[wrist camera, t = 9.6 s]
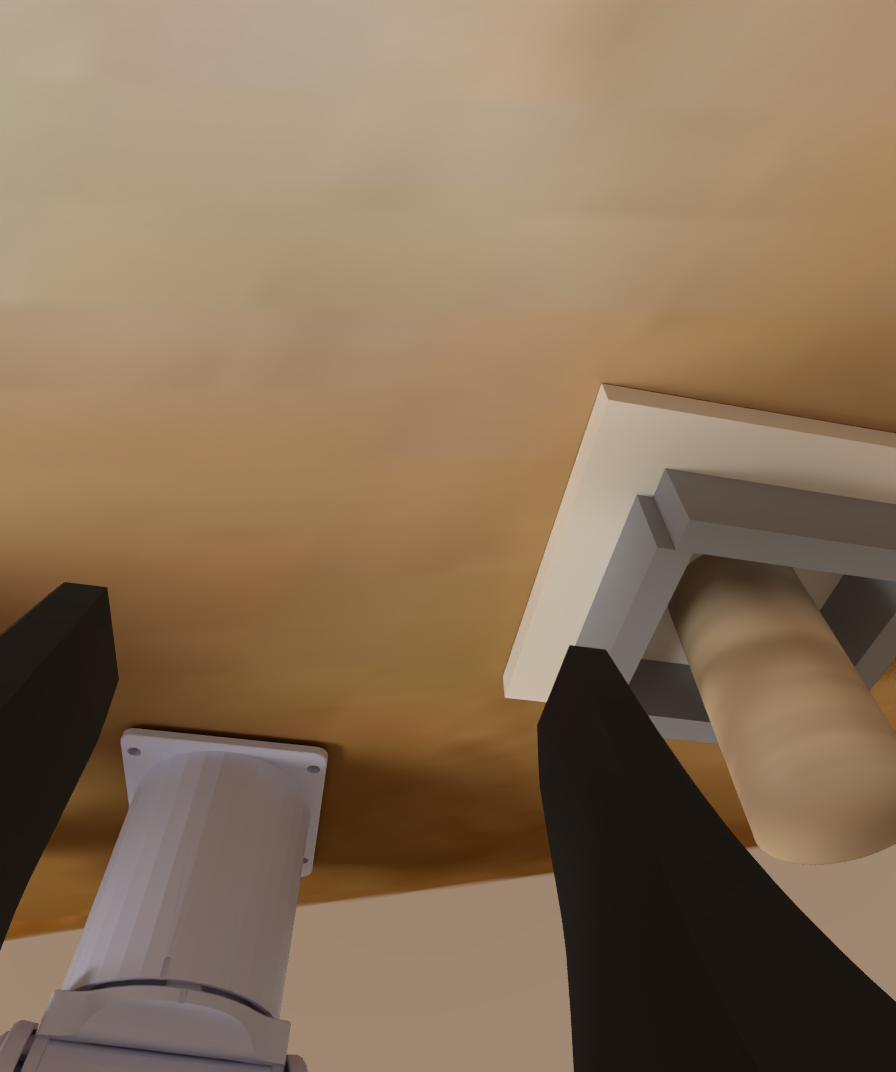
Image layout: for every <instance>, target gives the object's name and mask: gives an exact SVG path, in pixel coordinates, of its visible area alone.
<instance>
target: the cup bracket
mask: <svg viewBox="0 0 896 1072" xmlns="http://www.w3.org/2000/svg"><path fill="white" fill-rule="evenodd" d="M704 554H706V555H713V556H720V557H727V558H734V559H741V560H748V561H755V562H762V563H769V564H776V565H783V566H790V567H792V568H793V569H794V571H795V572H796V574H797V576H798V577H799V579H800V581H801V582H802V584H803V585H804V587H805V589H806V590H807V592H808V593H809V595H810V597H811V598H812V600H813V601H814V603H815V605H816V606H817V608H818V609H819V611H820V613H821V614H822V616H823V617H824V619H825V621H826V622H827V624H828V626H829V627H830V629H831V630H832V632H833V634H834V635H835V637H836V638H837V640H838V642H839V643H840V645H841V646H842V648H843V650H844V651H845V653H846V654H847V656H848V658H849V659H850V661H851V662H852V664H853V666H854V667H855V669H856V671H857V672H858V674H859V675H860V677H861V679H862V680H863V682H864V683H865V685H866V687H867V688H868V690H869V691H870V689H871V688H872V687H873V686H874V684H875V683H876V682H877V680H878V679H879V678H880V677H881V675H882V674H883V673H884V672H885V670H886V669H887V668H888V667H889V665H890V664H891V663H892V661H893V660H894V659H895V658H896V433H890V432H884V431H879V430H873V429H867V428H861V427H855V426H849V425H843V424H837V423H831V422H826V421H820V420H814V419H808V418H802V417H796V416H790V415H784V414H779V413H773V412H767V411H761V410H755V409H749V408H743V407H737V406H731V405H726V404H720V403H714V402H708V401H702V400H696V399H690V398H684V397H679V396H673V395H667V394H661V393H655V392H649V391H643V390H637V389H631V388H626V387H620V386H614V385H608V384H602V383H601V386H600V389H599V392H598V395H597V398H596V401H595V404H594V407H593V410H592V413H591V416H590V419H589V422H588V425H587V428H586V431H585V434H584V437H583V440H582V443H581V446H580V449H579V452H578V455H577V458H576V461H575V464H574V467H573V470H572V473H571V476H570V479H569V482H568V485H567V488H566V491H565V494H564V497H563V499H562V502H561V505H560V508H559V511H558V514H557V517H556V520H555V523H554V526H553V529H552V532H551V535H550V538H549V541H548V544H547V547H546V550H545V553H544V556H543V559H542V562H541V565H540V568H539V571H538V574H537V577H536V580H535V583H534V586H533V589H532V592H531V595H530V598H529V601H528V604H527V607H526V610H525V613H524V615H523V618H522V621H521V624H520V627H519V630H518V633H517V636H516V639H515V642H514V645H513V648H512V651H511V654H510V657H509V660H508V663H507V666H506V669H505V672H504V675H503V683H504V693H505V698H513V699H522V700H531V701H540V702H547V700H548V698H549V695H550V693H551V690H552V688H553V685H554V683H555V680H556V678H557V675H558V673H559V670H560V668H561V665H562V663H563V660H564V658H565V655H566V653H567V650H568V648H569V645H574V646H582V647H590V648H598V649H606V651H607V652H608V654H609V655H610V657H611V658H612V660H613V661H614V663H615V664H616V666H617V667H618V669H619V671H620V672H621V674H622V675H623V677H624V679H625V680H626V682H627V683H628V685H629V686H630V688H631V690H632V691H633V693H634V694H635V696H636V698H637V699H638V701H639V702H640V704H641V705H642V707H643V708H644V710H645V712H646V713H647V715H648V716H649V718H650V719H651V721H652V722H653V724H654V725H655V727H656V728H657V730H658V731H659V733H660V734H661V736H662V737H663V738H669V739H678V740H687V741H696V742H705V743H714V744H719V743H718V740H717V738H716V735H715V732H714V730H713V727H712V725H711V722H710V719H709V717H708V714H707V711H706V709H705V706H704V703H703V701H702V698H701V695H700V693H699V690H698V687H697V685H696V682H695V680H694V677H693V674H692V672H691V669H690V666H689V664H688V661H687V658H686V656H685V653H684V650H683V648H682V645H681V642H680V640H679V637H678V635H677V632H676V629H675V627H674V624H673V621H672V619H671V616H670V613H669V610H668V604H669V601H670V599H671V597H672V595H673V593H674V591H675V589H676V587H677V585H678V583H679V581H680V579H681V577H682V575H683V573H684V571H685V569H686V567H687V565H689V564H690V563H691V562H692V561H694V560H695V559H697V558H698V557H700V556H702V555H704Z"/></svg>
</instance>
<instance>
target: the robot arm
mask: <svg viewBox="0 0 896 1072" xmlns="http://www.w3.org/2000/svg"><path fill="white" fill-rule="evenodd" d="M118 680H119V678H118V670H117V662H116V654H115V646H114V638H113V630H112V622H111V614H110V606H109V598H108V590H107V587H100V586H92V585H84V584H75V583H67V582H65V583H63V584H62V585H60V586H59V587H57V588H56V589H55V590H54V591H53V592H51V593H50V594H49V595H48V596H46V597H45V598H44V599H43V600H42V601H40V602H39V603H38V604H37V605H36V606H34V607H33V608H32V609H31V610H30V611H28V612H27V613H26V614H25V615H24V616H23V617H21V618H20V619H19V620H18V621H17V622H15V623H14V624H13V625H12V626H11V627H9V628H8V629H7V630H6V631H4V632H3V633H2V634H1V635H0V949H1V947H2V944H3V942H4V939H5V936H6V934H7V931H8V929H9V926H10V923H11V921H12V918H13V916H14V913H15V911H16V908H17V906H18V904H19V902H20V899H21V897H22V895H23V893H24V890H25V888H26V886H27V884H28V882H29V879H30V877H31V875H32V873H33V871H34V869H35V867H36V865H37V863H38V861H39V859H40V857H41V855H42V853H43V851H44V849H45V847H46V845H47V843H48V841H49V839H50V837H51V835H52V833H53V831H54V829H55V827H56V825H57V823H58V821H59V819H60V817H61V815H62V813H63V811H64V809H65V807H66V805H67V803H68V801H69V799H70V797H71V795H72V793H73V791H74V789H75V786H76V784H77V782H78V780H79V778H80V776H81V774H82V772H83V770H84V768H85V766H86V764H87V762H88V760H89V758H90V756H91V754H92V751H93V749H94V747H95V745H96V743H97V741H98V738H99V735H100V733H101V730H102V727H103V724H104V722H105V719H106V716H107V713H108V710H109V707H110V704H111V701H112V698H113V695H114V692H115V689H116V686H117V683H118ZM537 733H538V761H539V779H540V790H541V796H542V803H543V809H544V815H545V821H546V827H547V834H548V840H549V845H550V851H551V857H552V863H553V869H554V875H555V881H556V887H557V893H558V899H559V905H560V910H561V916H562V923H563V931H564V938H565V947H566V955H567V970H568V982H569V997H570V1011H571V1026H572V1045H573V1063H574V1072H896V1002H895V1001H894V1000H893V999H892V998H891V997H890V996H889V995H888V994H887V993H885V992H884V991H883V990H882V989H881V988H880V987H879V986H878V985H877V984H876V983H874V982H873V981H872V980H871V979H870V978H869V977H868V976H867V975H866V974H865V973H864V972H863V971H862V970H861V969H860V968H858V967H857V966H856V965H855V964H854V963H853V962H852V961H851V960H850V959H849V958H848V957H847V956H846V955H845V954H844V953H843V952H842V951H841V950H840V949H839V948H838V947H837V946H836V945H835V944H834V943H833V942H832V941H831V940H830V939H829V938H828V937H827V936H826V935H825V934H824V933H823V932H822V931H821V930H820V929H819V928H818V927H817V926H816V925H815V924H814V923H813V922H812V921H811V920H810V919H809V918H808V917H807V916H806V915H805V914H804V913H803V912H802V911H801V910H800V909H799V908H798V907H797V906H796V905H795V904H794V902H793V901H792V900H791V899H790V898H789V897H788V896H787V895H786V894H785V893H784V892H783V891H782V890H781V888H780V887H779V886H778V885H777V884H776V883H775V882H774V881H773V880H772V878H771V877H770V876H769V875H768V874H767V873H766V872H765V870H764V869H763V868H762V867H761V866H760V865H759V863H758V862H757V861H756V860H755V859H754V858H753V857H752V855H751V854H750V853H749V852H748V851H747V850H746V849H745V847H744V846H743V845H742V844H741V843H740V841H739V840H738V839H737V838H736V837H735V835H734V834H733V833H732V832H731V831H730V829H729V828H728V827H727V826H726V824H725V823H724V822H723V820H722V819H721V818H720V817H719V815H718V814H717V813H716V811H715V810H714V809H713V807H712V806H711V805H710V803H709V802H708V801H707V800H706V798H705V797H704V796H703V794H702V793H701V792H700V790H699V789H698V787H697V786H696V785H695V783H694V782H693V781H692V779H691V778H690V776H689V775H688V774H687V772H686V771H685V769H684V768H683V766H682V765H681V764H680V762H679V761H678V759H677V758H676V756H675V755H674V753H673V752H672V751H671V749H670V748H669V746H668V745H667V743H666V742H665V740H664V739H663V737H662V736H661V734H660V733H659V731H658V730H657V728H656V727H655V725H654V724H653V722H652V721H651V719H650V718H649V716H648V715H647V713H646V712H645V710H644V708H643V707H642V705H641V704H640V702H639V701H638V699H637V698H636V696H635V694H634V693H633V691H632V690H631V688H630V686H629V685H628V683H627V682H626V680H625V679H624V677H623V675H622V674H621V672H620V671H619V669H618V667H617V666H616V664H615V663H614V661H613V660H612V658H611V657H610V655H609V654H608V652H607V651H606V649H598V648H590V647H582V646H574V645H569V648H568V650H567V653H566V655H565V658H564V660H563V663H562V665H561V668H560V670H559V673H558V675H557V678H556V680H555V683H554V685H553V688H552V690H551V693H550V695H549V698H548V700H547V703H546V705H545V708H544V710H543V712H542V715H541V717H540V720H539V722H538V725H537ZM120 742H121V750H122V757H123V765H124V772H125V780H126V787H127V795H128V802H129V810H128V812H127V815H126V818H125V820H124V823H123V826H122V828H121V831H120V834H119V836H118V839H117V842H116V844H115V847H114V850H113V852H112V855H111V858H110V860H109V863H108V866H107V868H106V871H105V874H104V876H103V879H102V882H101V884H100V887H99V890H98V892H97V895H96V898H95V900H94V903H93V906H92V908H91V911H90V914H89V916H88V919H87V922H86V924H85V927H84V930H83V933H82V935H81V938H80V941H79V943H78V946H77V949H76V951H75V954H74V957H73V959H72V962H71V965H70V967H69V970H68V973H67V975H66V978H65V981H64V983H63V986H62V989H61V990H59V989H58V990H54V991H53V992H52V995H51V998H50V1000H49V1003H48V1006H47V1008H46V1011H45V1013H44V1016H43V1019H42V1021H41V1024H40V1027H39V1029H38V1023H34V1022H30V1021H26V1020H21V1021H19V1022H17V1023H16V1024H14V1025H13V1027H12V1028H11V1030H10V1031H8V1032H6V1033H4V1034H3V1035H1V1036H0V1072H308V1070H307V1066H306V1063H305V1061H304V1060H303V1058H302V1057H300V1056H299V1055H286V1054H287V1047H288V1040H289V1033H290V1026H291V1023H290V1022H289V1021H285V1020H280V1019H279V1017H280V1010H281V1003H282V997H283V990H284V984H285V978H286V971H287V964H288V958H289V951H290V945H291V938H292V931H293V925H294V918H295V912H296V905H297V899H298V892H299V885H300V879H301V877H304V876H308V875H309V874H311V872H312V867H313V860H314V853H315V846H316V839H317V832H318V824H319V817H320V810H321V803H322V796H323V789H324V782H325V774H326V767H327V760H328V753H327V752H326V751H325V750H324V749H322V748H320V747H314V746H305V745H295V744H285V743H275V742H266V741H256V740H246V739H236V738H227V737H217V736H207V735H198V734H188V733H178V732H168V731H159V730H149V729H139V728H130V729H127V730H125V731H124V733H123V735H122V737H121V741H120ZM37 1029H38V1032H37Z"/></svg>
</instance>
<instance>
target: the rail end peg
mask: <svg viewBox="0 0 896 1072" xmlns="http://www.w3.org/2000/svg"><path fill="white" fill-rule="evenodd" d="M668 610H669V613H670V616H671V619H672V621H673V624H674V627H675V629H676V632H677V635H678V637H679V640H680V642H681V645H682V648H683V650H684V653H685V656H686V658H687V661H688V664H689V666H690V669H691V672H692V674H693V677H694V680H695V682H696V685H697V687H698V690H699V693H700V695H701V698H702V701H703V703H704V706H705V709H706V711H707V714H708V717H709V719H710V722H711V725H712V727H713V730H714V732H715V735H716V738H717V740H718V743H719V746H720V748H721V751H722V754H723V756H724V759H725V762H726V764H727V767H728V770H729V772H730V775H731V778H732V780H733V783H734V785H735V788H736V791H737V793H738V796H739V799H740V801H741V804H742V807H743V809H744V812H745V815H746V817H747V820H748V823H749V825H750V828H751V830H752V833H753V836H754V838H755V841H756V843H757V845H758V846H759V847H760V848H761V849H762V850H763V851H764V852H765V853H767V854H768V855H770V856H772V857H774V858H776V859H779V860H782V861H785V862H790V863H796V864H808V865H818V864H819V865H822V864H833V863H840V862H846V861H850V860H855V859H858V858H862V857H865V856H868V855H871V854H874V853H877V852H879V851H882V850H884V849H886V848H888V847H890V846H892V845H894V844H896V733H895V732H894V730H893V728H892V727H891V725H890V724H889V722H888V720H887V719H886V717H885V716H884V714H883V712H882V711H881V709H880V707H879V706H878V704H877V703H876V701H875V699H874V698H873V696H872V695H871V693H870V691H869V690H868V688H867V687H866V685H865V683H864V682H863V680H862V679H861V677H860V675H859V674H858V672H857V671H856V669H855V667H854V666H853V664H852V662H851V661H850V659H849V658H848V656H847V654H846V653H845V651H844V650H843V648H842V646H841V645H840V643H839V642H838V640H837V638H836V637H835V635H834V634H833V632H832V630H831V629H830V627H829V626H828V624H827V622H826V621H825V619H824V617H823V616H822V614H821V613H820V611H819V609H818V608H817V606H816V605H815V603H814V601H813V600H812V598H811V597H810V595H809V593H808V592H807V590H806V589H805V587H804V585H803V584H802V582H801V581H800V579H799V577H798V576H797V574H796V572H795V571H794V569H793V568H792V567H790V566H783V565H776V564H769V563H762V562H755V561H748V560H741V559H734V558H727V557H720V556H713V555H706V554H704V555H702V556H700V557H698V558H697V559H695V560H694V561H692V562H691V563H690V564H689V565H687V567H686V569H685V571H684V573H683V575H682V577H681V579H680V581H679V583H678V585H677V587H676V589H675V591H674V593H673V595H672V597H671V599H670V601H669V604H668Z"/></svg>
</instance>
